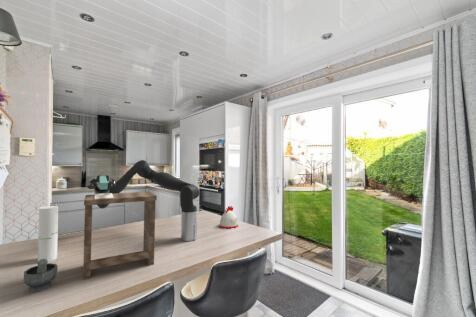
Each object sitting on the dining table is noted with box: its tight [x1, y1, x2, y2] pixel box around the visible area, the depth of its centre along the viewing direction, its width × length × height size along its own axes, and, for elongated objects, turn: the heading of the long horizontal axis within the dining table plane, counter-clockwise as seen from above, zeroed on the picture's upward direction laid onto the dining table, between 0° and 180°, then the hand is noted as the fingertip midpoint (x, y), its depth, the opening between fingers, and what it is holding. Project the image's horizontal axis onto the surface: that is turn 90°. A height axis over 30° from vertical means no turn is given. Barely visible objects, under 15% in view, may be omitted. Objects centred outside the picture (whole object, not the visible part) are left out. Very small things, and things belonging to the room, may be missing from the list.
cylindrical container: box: [37, 205, 59, 263], centre depth 110 cm, size 7×7×25 cm
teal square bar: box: [99, 175, 108, 190], centre depth 114 cm, size 3×26×3 cm, turn 32°
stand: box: [82, 191, 158, 281], centre depth 105 cm, size 28×16×32 cm, turn 122°
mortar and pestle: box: [23, 259, 58, 293], centre depth 85 cm, size 11×9×12 cm
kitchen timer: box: [219, 205, 239, 230], centre depth 171 cm, size 14×14×15 cm
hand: (102, 176), depth 120 cm, fingers closed on teal square bar, 3 cm apart
